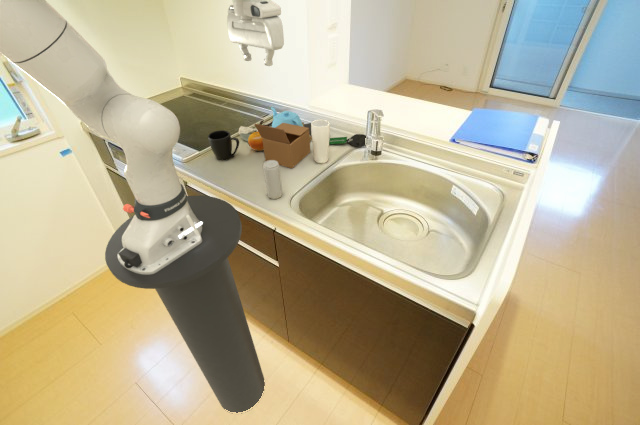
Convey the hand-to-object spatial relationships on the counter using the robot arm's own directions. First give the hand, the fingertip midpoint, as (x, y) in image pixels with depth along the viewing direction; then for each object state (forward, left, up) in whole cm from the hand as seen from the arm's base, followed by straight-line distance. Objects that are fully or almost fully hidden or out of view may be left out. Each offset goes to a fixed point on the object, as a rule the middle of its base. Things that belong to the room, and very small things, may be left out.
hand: (258, 62), depth 92 cm
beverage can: (-12, -9, -37) cm, 40 cm away
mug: (+1, +22, -37) cm, 43 cm away
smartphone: (+32, -3, -36) cm, 49 cm away
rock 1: (+14, +24, -36) cm, 46 cm away
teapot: (+28, +12, -37) cm, 48 cm away
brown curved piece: (+31, +27, -35) cm, 54 cm away
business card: (+28, -12, -36) cm, 47 cm away
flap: (+4, +1, -24) cm, 24 cm away
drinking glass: (+15, -12, -37) cm, 42 cm away
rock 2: (+34, -19, -34) cm, 52 cm away
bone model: (+34, +5, -38) cm, 51 cm away
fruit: (+13, +15, -37) cm, 42 cm away
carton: (+12, +1, -37) cm, 39 cm away
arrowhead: (+20, +25, -36) cm, 48 cm away
